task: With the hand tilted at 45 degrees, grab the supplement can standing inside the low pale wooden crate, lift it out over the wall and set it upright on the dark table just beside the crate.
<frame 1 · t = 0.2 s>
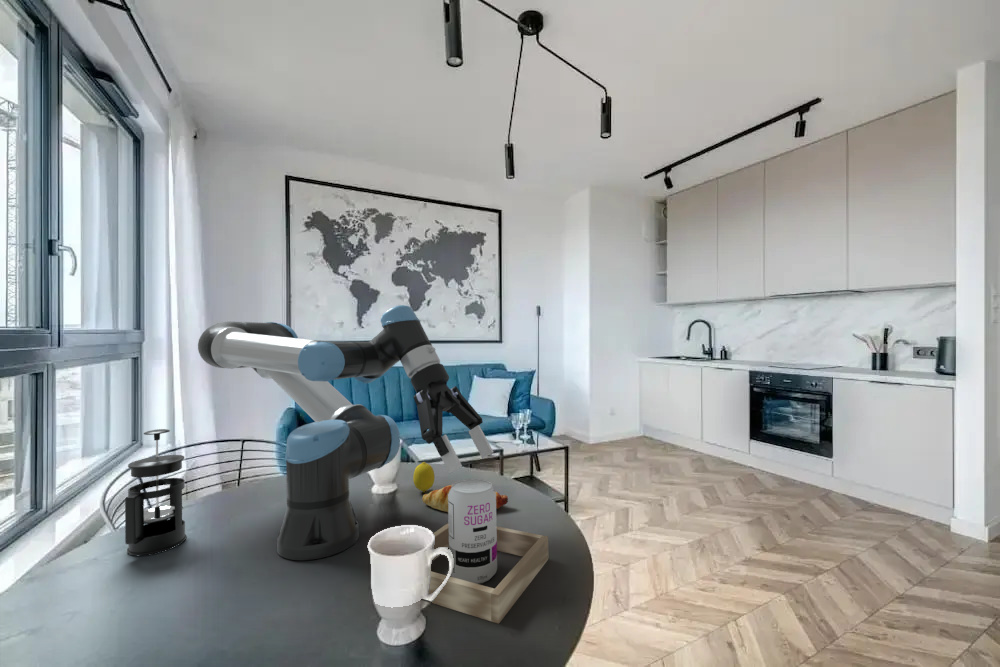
hand: (473, 462, 86), 16 cm above the table, tool tilted 35°, fingers open, 13 cm apart
lemon: (424, 493, 115), on the table
croissant: (464, 508, 104), on the table
crate: (473, 573, 75), on the table
french press: (155, 546, 87), on the table
supplement can: (473, 574, 75), resting in crate
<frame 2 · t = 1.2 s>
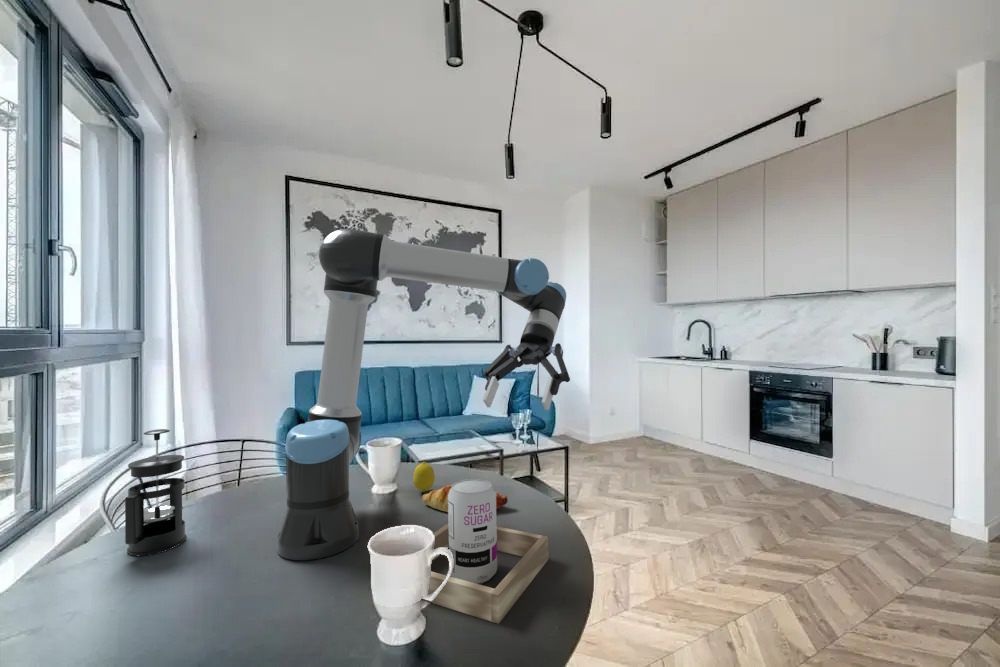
hand: (514, 405, 91), 26 cm above the table, tool tilted 45°, fingers open, 13 cm apart
nothing on the table moved.
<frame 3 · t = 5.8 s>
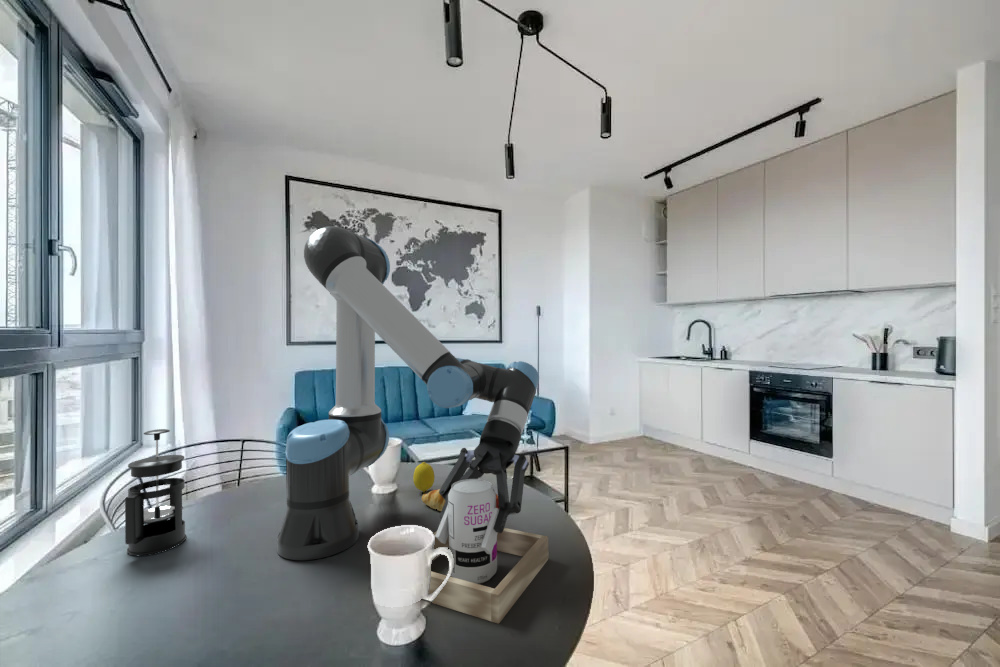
hand: (462, 545, 72), 6 cm above the table, tool tilted 45°, fingers closed on supplement can, 8 cm apart
supplement can: (473, 574, 75), resting in crate, touching gripper
everything else where it was.
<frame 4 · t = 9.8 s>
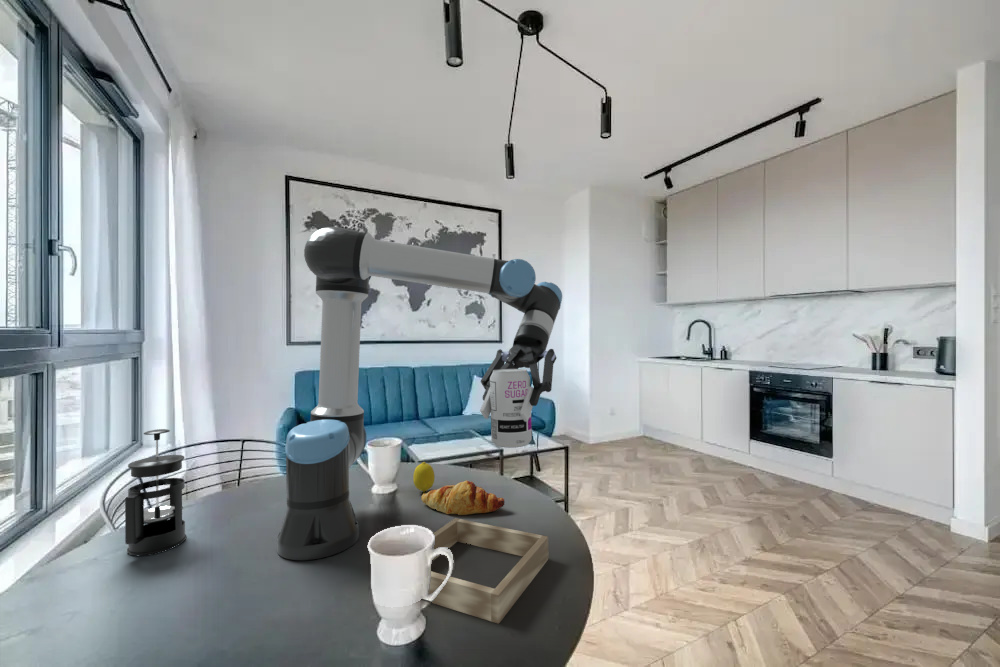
hand: (503, 416, 86), 25 cm above the table, tool tilted 45°, fingers closed on supplement can, 8 cm apart
supplement can: (511, 444, 89), point 19 cm above the table, touching gripper
everything else where it was.
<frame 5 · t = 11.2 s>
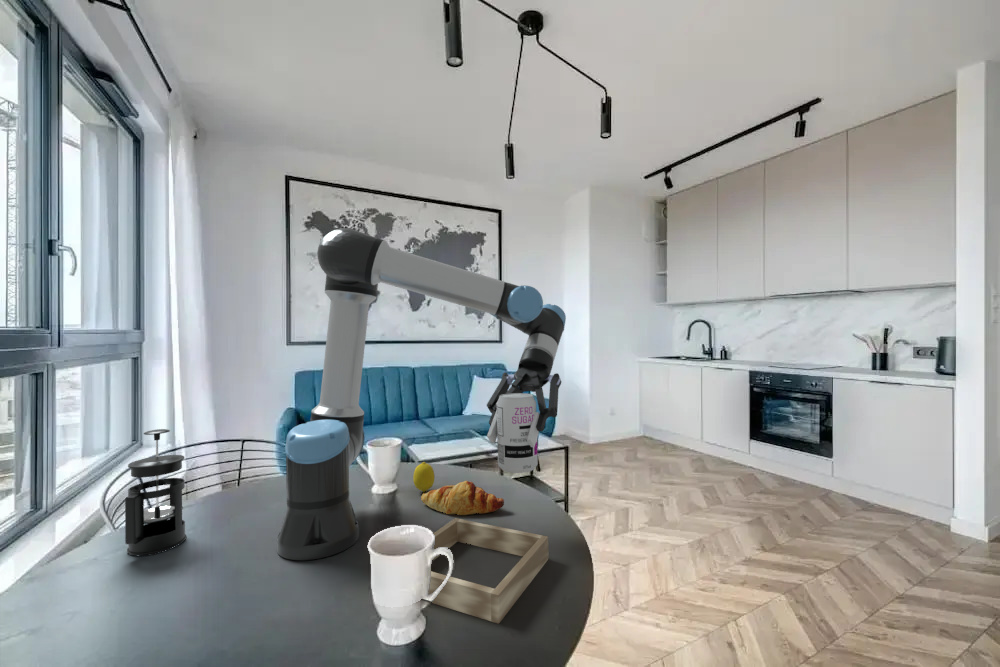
hand: (510, 441, 87), 20 cm above the table, tool tilted 45°, fingers closed on supplement can, 8 cm apart
supplement can: (517, 468, 90), point 13 cm above the table, touching gripper
everything else where it was.
when the fingers open (8 cm above the table, at t = 13.7 s): supplement can drops 1 cm, on the table.
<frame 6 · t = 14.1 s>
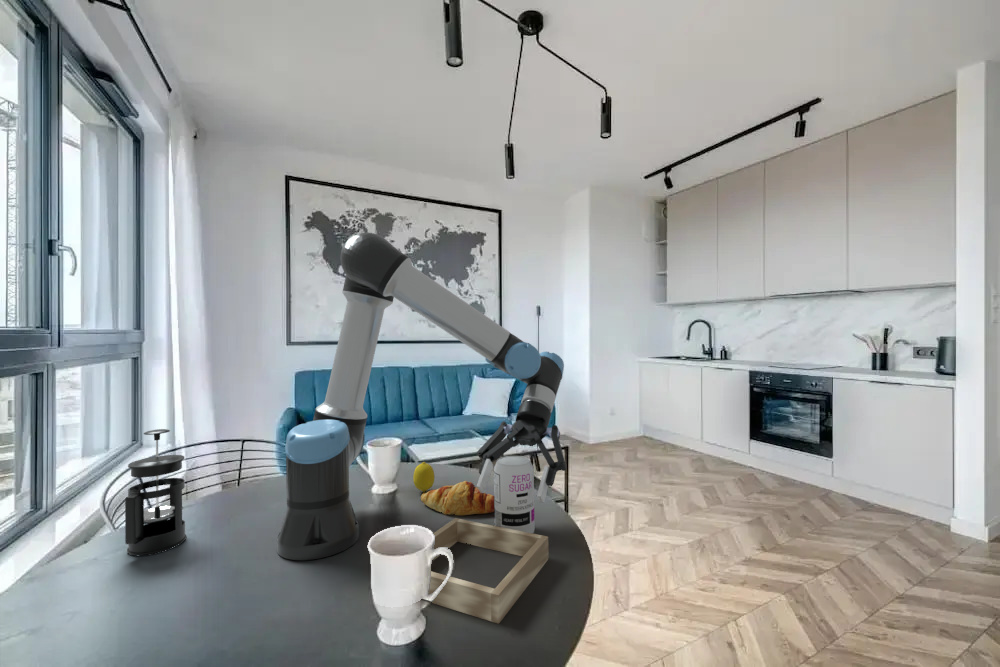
hand: (509, 494, 88), 9 cm above the table, tool tilted 45°, fingers open, 13 cm apart
supplement can: (514, 534, 90), on the table
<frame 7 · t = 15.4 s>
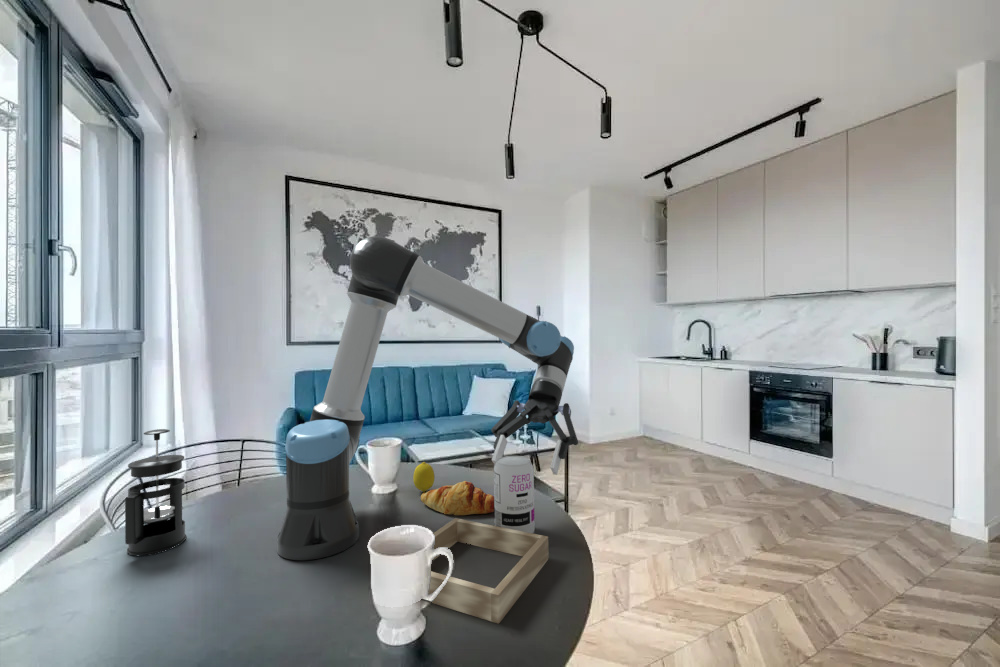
hand: (523, 467, 92), 13 cm above the table, tool tilted 45°, fingers open, 13 cm apart
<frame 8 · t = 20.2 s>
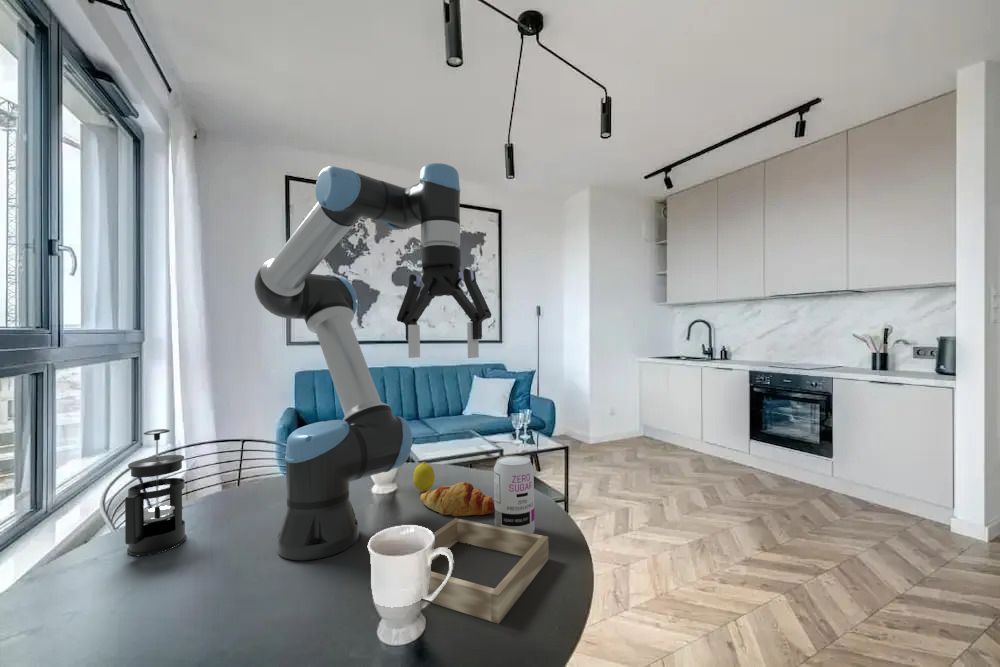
hand: (442, 357, 84), 37 cm above the table, tool pointing down, fingers open, 13 cm apart
at the end: supplement can inside the target area (0.5 cm from its centre), on the table; supplement can tilted 0°; the gripper is holding nothing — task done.
